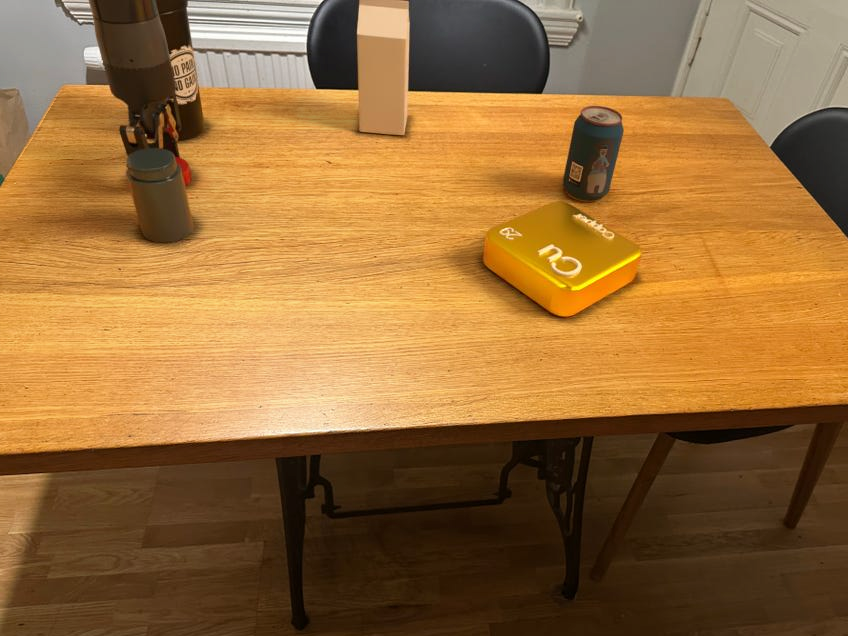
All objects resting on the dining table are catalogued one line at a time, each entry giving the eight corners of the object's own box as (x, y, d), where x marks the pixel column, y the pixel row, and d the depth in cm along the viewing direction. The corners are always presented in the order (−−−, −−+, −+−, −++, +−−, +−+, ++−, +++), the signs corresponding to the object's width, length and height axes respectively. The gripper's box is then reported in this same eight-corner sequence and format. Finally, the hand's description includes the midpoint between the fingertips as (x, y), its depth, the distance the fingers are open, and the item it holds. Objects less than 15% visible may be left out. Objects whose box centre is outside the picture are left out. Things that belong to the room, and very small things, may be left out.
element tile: (640, 277, 89) (650, 246, 85) (562, 323, 81) (570, 290, 77) (555, 224, 96) (561, 193, 93) (475, 260, 88) (479, 228, 85)
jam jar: (135, 241, 84) (114, 168, 78) (151, 214, 89) (132, 144, 82) (186, 244, 85) (169, 173, 78) (199, 218, 89) (185, 148, 83)
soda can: (581, 176, 107) (597, 99, 99) (616, 195, 104) (636, 117, 96) (551, 189, 103) (566, 110, 95) (587, 209, 100) (606, 130, 92)
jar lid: (202, 177, 96) (199, 165, 95) (165, 196, 92) (161, 184, 91) (167, 163, 98) (164, 151, 97) (129, 181, 94) (126, 169, 93)
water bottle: (173, 150, 101) (134, -24, 85) (123, 129, 104) (77, -43, 88) (225, 127, 108) (198, -39, 92) (177, 107, 111) (143, -56, 95)
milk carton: (404, 136, 111) (406, 9, 98) (359, 132, 110) (356, 4, 98) (407, 117, 116) (410, -6, 103) (364, 113, 116) (362, -11, 103)
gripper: (147, 79, 79) (178, 208, 90) (184, 36, 89) (207, 156, 101) (78, 74, 78) (118, 204, 89) (124, 30, 89) (154, 152, 100)
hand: (165, 178), depth 95 cm, fingers closed on jar lid, 6 cm apart
